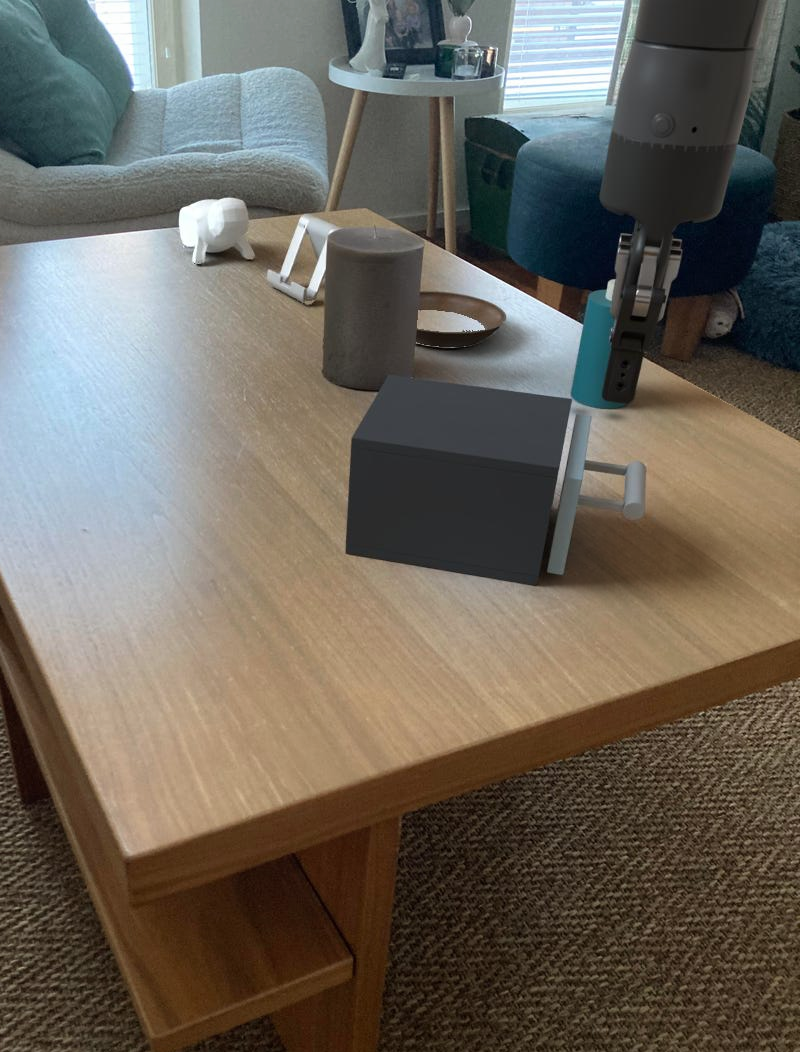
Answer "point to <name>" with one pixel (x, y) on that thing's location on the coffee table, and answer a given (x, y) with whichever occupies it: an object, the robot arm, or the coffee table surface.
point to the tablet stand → (318, 238)
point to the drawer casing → (456, 477)
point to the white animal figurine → (215, 227)
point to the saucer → (465, 306)
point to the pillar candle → (370, 305)
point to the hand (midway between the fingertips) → (617, 398)
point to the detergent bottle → (594, 351)
